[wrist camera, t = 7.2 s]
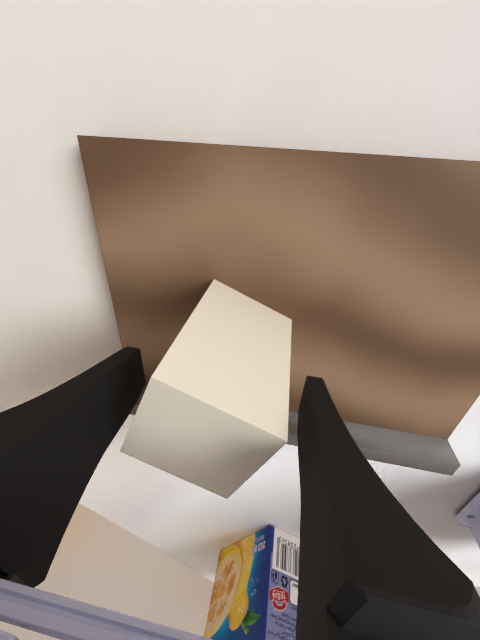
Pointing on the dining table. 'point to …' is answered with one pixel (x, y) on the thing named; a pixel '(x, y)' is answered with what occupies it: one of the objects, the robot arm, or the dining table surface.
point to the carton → (217, 394)
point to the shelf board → (308, 272)
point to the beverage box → (256, 588)
